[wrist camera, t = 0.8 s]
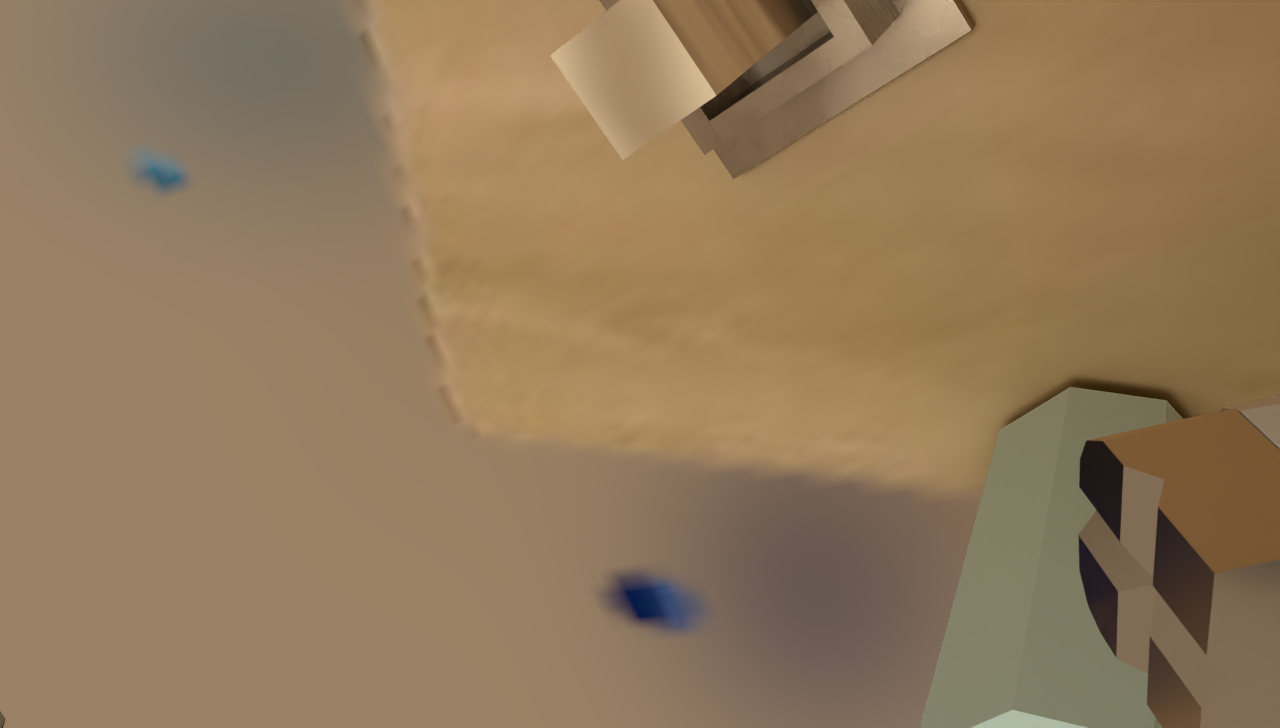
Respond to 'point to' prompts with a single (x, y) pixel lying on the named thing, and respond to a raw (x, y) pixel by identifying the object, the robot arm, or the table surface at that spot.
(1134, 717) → the water bottle
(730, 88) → the tan hollow square block
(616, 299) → the table surface
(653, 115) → the maple bar
